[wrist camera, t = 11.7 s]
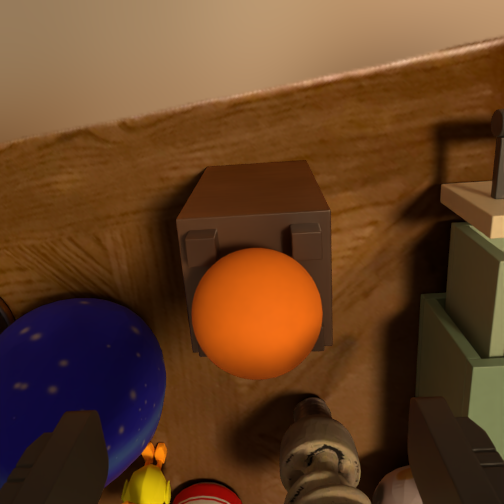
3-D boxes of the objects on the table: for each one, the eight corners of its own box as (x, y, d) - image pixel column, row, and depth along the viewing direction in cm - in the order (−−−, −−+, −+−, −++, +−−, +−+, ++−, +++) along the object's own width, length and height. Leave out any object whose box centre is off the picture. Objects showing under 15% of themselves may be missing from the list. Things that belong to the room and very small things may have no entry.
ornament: (31, 375, 37) (-111, 559, 23) (28, 265, 34) (-139, 402, 20) (174, 393, 37) (121, 586, 23) (184, 286, 34) (130, 435, 20)
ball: (206, 338, 22) (190, 411, 17) (194, 234, 20) (173, 283, 15) (316, 333, 22) (331, 405, 17) (314, 227, 20) (329, 274, 15)
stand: (216, 258, 33) (189, 368, 21) (207, 166, 31) (170, 228, 19) (309, 253, 33) (336, 361, 21) (306, 159, 31) (334, 218, 19)
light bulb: (274, 372, 37) (280, 560, 22) (347, 369, 36) (399, 556, 22) (277, 432, 38) (285, 639, 24) (346, 430, 38) (395, 637, 24)
